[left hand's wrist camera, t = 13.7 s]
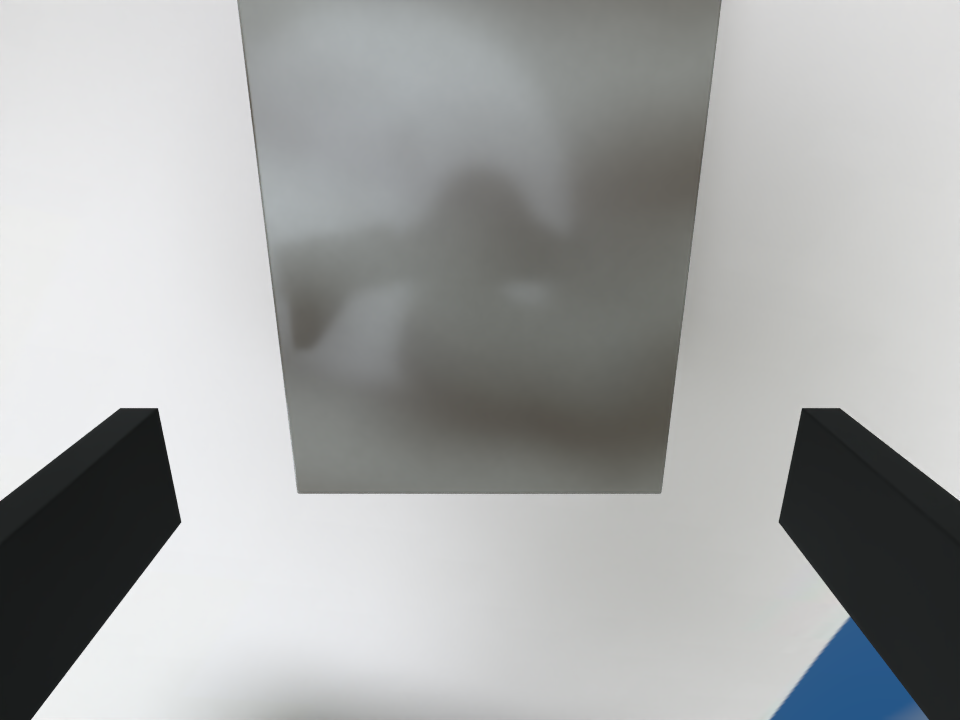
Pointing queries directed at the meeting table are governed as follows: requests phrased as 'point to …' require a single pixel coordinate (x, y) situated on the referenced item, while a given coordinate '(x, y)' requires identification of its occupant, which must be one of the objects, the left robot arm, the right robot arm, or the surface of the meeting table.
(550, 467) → the cabinet
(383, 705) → the meeting table surface
